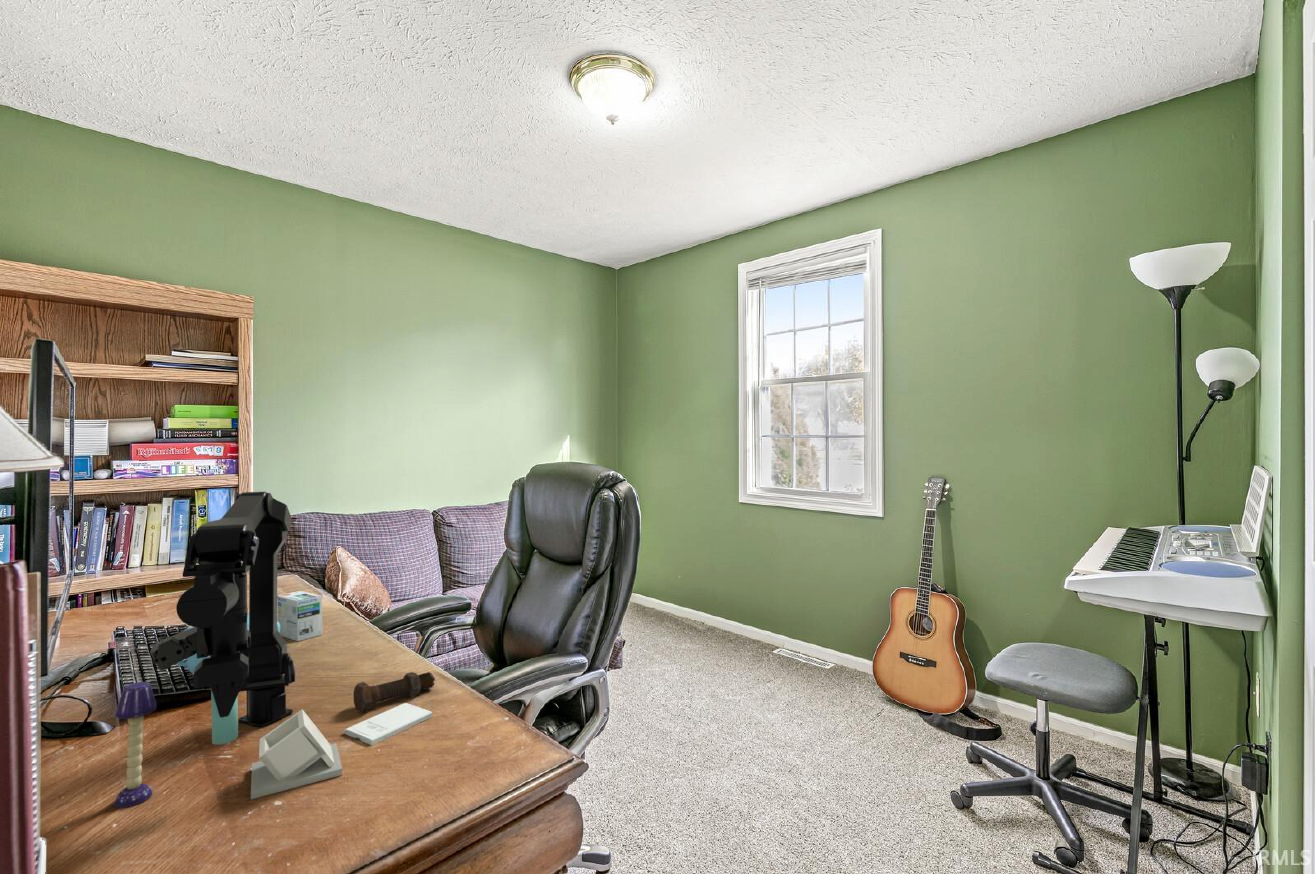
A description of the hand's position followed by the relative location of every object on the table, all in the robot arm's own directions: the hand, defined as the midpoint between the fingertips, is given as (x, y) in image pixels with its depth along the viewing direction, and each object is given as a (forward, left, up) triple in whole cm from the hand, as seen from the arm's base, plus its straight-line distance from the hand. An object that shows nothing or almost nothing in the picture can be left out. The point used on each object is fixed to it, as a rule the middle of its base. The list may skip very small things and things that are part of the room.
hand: (225, 711), depth 93 cm
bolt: (-1, +35, -12) cm, 37 cm away
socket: (+5, +8, -12) cm, 15 cm away
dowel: (0, 0, -4) cm, 4 cm away
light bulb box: (-56, +56, -12) cm, 80 cm away
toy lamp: (-11, -6, -12) cm, 17 cm away
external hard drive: (+6, +25, -13) cm, 29 cm away
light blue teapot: (-47, +32, -12) cm, 58 cm away
